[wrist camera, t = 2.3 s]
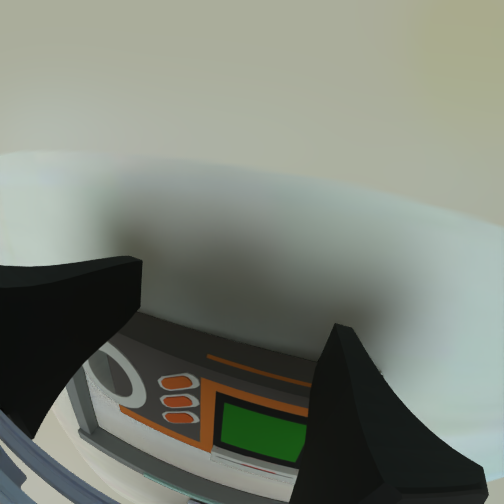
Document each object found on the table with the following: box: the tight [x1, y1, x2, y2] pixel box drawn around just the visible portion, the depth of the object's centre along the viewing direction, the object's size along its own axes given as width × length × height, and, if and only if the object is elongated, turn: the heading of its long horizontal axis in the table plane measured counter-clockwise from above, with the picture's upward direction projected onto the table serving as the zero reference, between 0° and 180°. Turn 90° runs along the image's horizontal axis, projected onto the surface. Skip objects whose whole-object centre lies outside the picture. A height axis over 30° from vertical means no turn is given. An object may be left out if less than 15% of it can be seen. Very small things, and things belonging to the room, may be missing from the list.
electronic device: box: [82, 311, 383, 485], centre depth 13 cm, size 7×3×15 cm
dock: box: [66, 366, 289, 504], centre depth 15 cm, size 10×21×2 cm, turn 77°
